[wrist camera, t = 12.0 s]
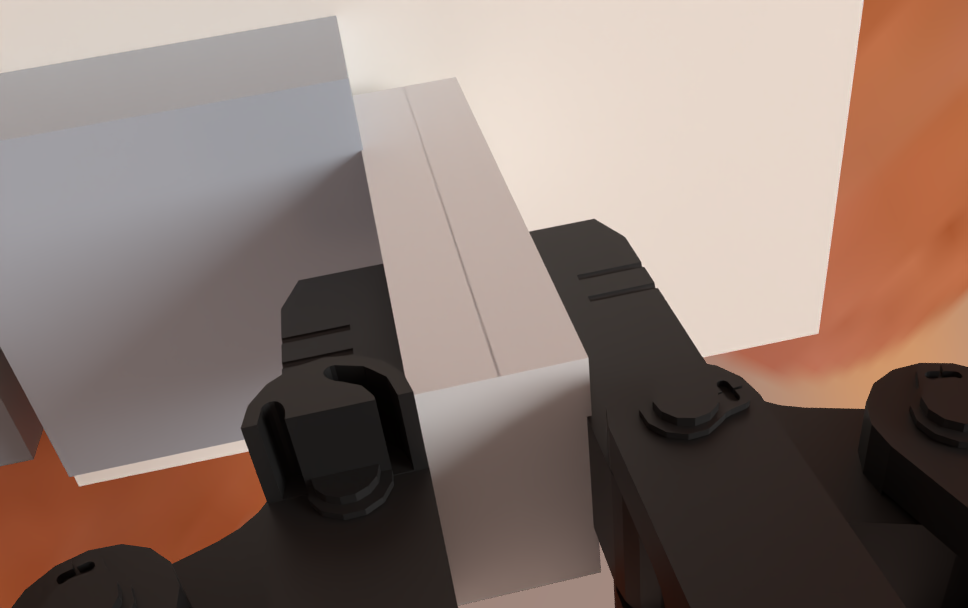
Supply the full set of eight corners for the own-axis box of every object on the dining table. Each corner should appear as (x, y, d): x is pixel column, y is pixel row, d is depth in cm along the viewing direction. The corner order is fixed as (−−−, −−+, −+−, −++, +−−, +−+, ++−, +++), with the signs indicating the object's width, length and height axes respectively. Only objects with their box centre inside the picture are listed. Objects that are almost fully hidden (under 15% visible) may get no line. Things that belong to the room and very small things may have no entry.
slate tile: (-37, 79, 12) (-100, 159, 10) (336, 15, 13) (347, 78, 10) (97, 369, 15) (69, 476, 13) (397, 309, 15) (415, 402, 13)
